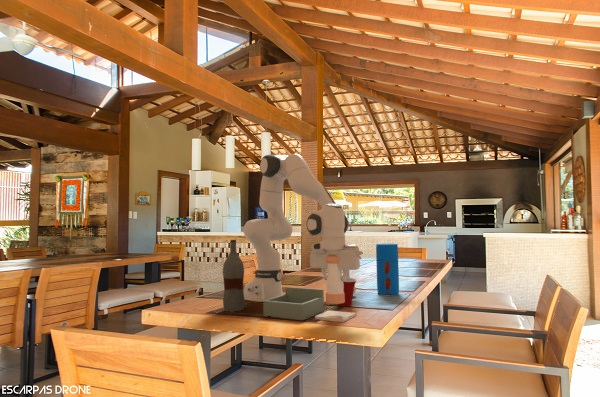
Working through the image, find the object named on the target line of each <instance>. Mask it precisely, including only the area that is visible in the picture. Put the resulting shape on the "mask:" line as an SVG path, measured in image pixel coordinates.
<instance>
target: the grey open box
mask: <svg viewBox="0 0 600 397" xmlns="http://www.w3.org/2000/svg"><path fill="white" fill-rule="evenodd" d="M284 288H285V289H284V290H285V291H284V292H285V294H284V293H283V295H281V296H278V297H274V298H271V299H268V300H264V301H263V304H262V308H263V310H262V311H263V317H268V316H271V317H270V318H277V317H278V318H277V319H279V318H280V319H288V320H295V321H305V320H307V319H310V318H312V317H315V316H317V315H319V314H321V313H324V312H325V298H324V294H325V293H324V289H323V288H322V289H321V288H310V287H309V288H306V287H293V286H285V287H284Z"/></svg>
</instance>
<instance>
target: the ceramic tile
mask: <svg viewBox="0 0 600 397" xmlns="http://www.w3.org/2000/svg"><path fill="white" fill-rule="evenodd" d="M356 316H357V312H349V311H340V310H329V309H328V310H327V311H324V312H321V313H319V314H317V315H314V320H321V321H322V320H323V321H331V322H340V323H345V322H346V321H348V320H351V319H352V318H354V317H356Z"/></svg>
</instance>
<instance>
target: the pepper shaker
mask: <svg viewBox="0 0 600 397" xmlns="http://www.w3.org/2000/svg"><path fill="white" fill-rule="evenodd" d="M339 259H340V258H339V257H338V256H336V255H329V256H327V257H326V262H327V263H328V269H327V280H326V293H325V303H326V304H331V305H335V304H336V305H338V304H340V303H344V302H345V293H344V292H343V281H341V278H340V276H343V269H338V268H337V263H339V261H340V260H339Z"/></svg>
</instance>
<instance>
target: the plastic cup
mask: <svg viewBox="0 0 600 397" xmlns="http://www.w3.org/2000/svg"><path fill="white" fill-rule="evenodd" d="M357 281H358V280H357V279H356V278H352V277H350V278H346V280H345V281H343V292H344V293H345V302H344V303H340V304H337V305H338V306H339V307H344V308H345V307H351V306H352V303H353V297H354V294H353V291H354V286H355V287H356V282H357Z"/></svg>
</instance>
